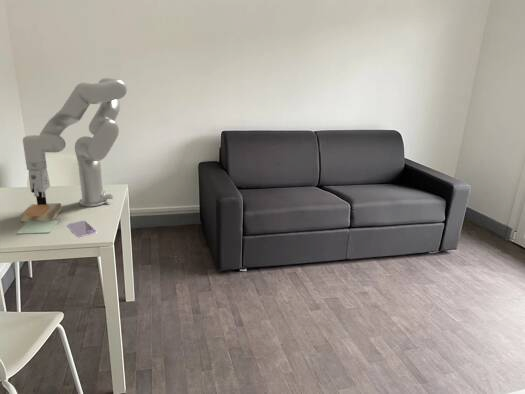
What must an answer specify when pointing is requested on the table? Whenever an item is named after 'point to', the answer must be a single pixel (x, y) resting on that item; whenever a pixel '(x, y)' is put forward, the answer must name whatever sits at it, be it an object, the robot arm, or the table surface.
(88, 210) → the table surface
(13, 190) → the table surface
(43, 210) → the tile
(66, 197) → the table surface
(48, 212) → the plate
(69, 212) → the table surface
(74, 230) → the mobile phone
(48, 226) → the mat
